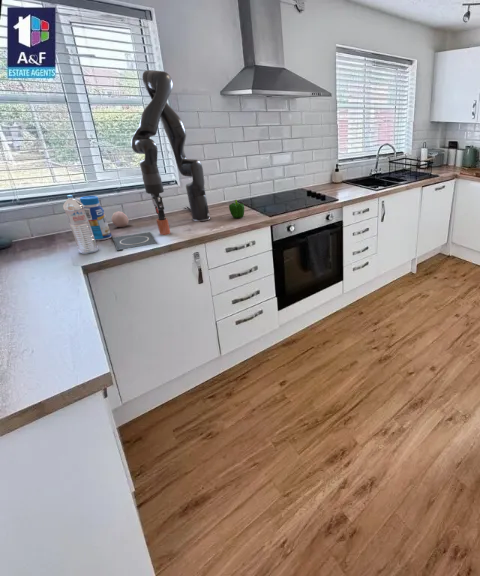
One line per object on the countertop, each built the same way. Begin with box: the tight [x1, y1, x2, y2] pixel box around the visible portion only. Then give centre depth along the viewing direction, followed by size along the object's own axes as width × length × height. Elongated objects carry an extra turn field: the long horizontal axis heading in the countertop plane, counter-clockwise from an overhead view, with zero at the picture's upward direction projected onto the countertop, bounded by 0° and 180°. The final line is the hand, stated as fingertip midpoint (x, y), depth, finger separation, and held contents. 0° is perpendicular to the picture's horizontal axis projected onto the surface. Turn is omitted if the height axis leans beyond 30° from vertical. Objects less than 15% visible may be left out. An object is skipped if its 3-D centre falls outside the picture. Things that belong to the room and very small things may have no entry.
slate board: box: [112, 231, 158, 252], centre depth 177 cm, size 20×16×1 cm
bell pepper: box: [228, 199, 245, 219], centre depth 217 cm, size 8×8×10 cm
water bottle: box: [62, 194, 99, 255], centre depth 159 cm, size 7×7×25 cm
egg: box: [111, 211, 129, 228], centre depth 194 cm, size 7×7×8 cm
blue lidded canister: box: [79, 195, 113, 241], centre depth 176 cm, size 8×8×20 cm
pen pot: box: [156, 217, 171, 236], centre depth 186 cm, size 5×5×8 cm
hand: (160, 215), depth 184 cm, fingers open, 8 cm apart
